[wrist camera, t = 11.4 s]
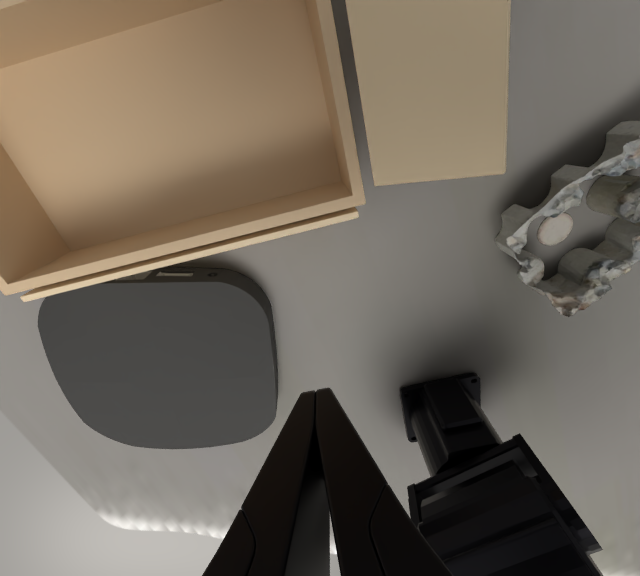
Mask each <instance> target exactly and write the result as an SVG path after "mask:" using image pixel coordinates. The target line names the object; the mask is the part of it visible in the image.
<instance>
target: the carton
mask: <svg viewBox="0 0 640 576" xmlns="http://www.w3.org/2000/svg"><path fill="white" fill-rule="evenodd" d="M363 204H366V201H365V196H364V190H363V184H362V178H361V173H360V167H359V161H358V155H357V150H356V144H355V138H354V132H353V126H352V121H351V115H350V109H349V103H348V98H347V92H346V86H345V80H344V75H343V69H342V63H341V57H340V51H339V46H338V40H337V34H336V28H335V23H334V17H333V11H332V5H331V0H0V290H1V291H2V292H3V294H4V295H5V296H6V295H10V294H14V293H18V292H21V291H25V290H29V289H33V288H35V289H33V290H31V291H29V292H28V293H26V294H24V295H23V296H21V297H20V298H21V299H22V300H23V302H26V301H30V300H34V299H38V298H42V297H46V296H50V295H54V294H58V293H62V292H66V291H70V290H74V289H78V288H82V287H86V286H90V285H94V284H98V283H102V282H106V281H110V280H114V279H118V278H122V277H126V276H129V275H133V274H137V273H141V272H145V271H149V270H153V269H157V268H161V267H165V266H169V265H173V264H177V263H181V262H185V261H189V260H193V259H197V258H201V257H205V256H209V255H213V254H217V253H221V252H225V251H229V250H233V249H237V248H240V247H244V246H248V245H252V244H256V243H260V242H264V241H268V240H272V239H276V238H280V237H284V236H288V235H292V234H296V233H300V232H304V231H308V230H312V229H316V228H320V227H324V226H328V225H332V224H336V223H340V222H344V221H348V220H352V219H355V218H359V215H358V211H357V210H356V208H355V206H359V205H363Z"/></svg>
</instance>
